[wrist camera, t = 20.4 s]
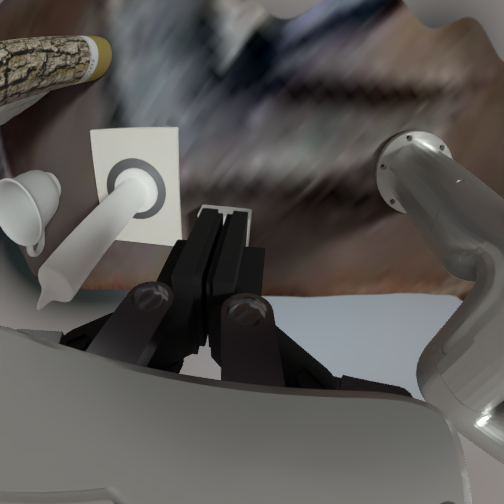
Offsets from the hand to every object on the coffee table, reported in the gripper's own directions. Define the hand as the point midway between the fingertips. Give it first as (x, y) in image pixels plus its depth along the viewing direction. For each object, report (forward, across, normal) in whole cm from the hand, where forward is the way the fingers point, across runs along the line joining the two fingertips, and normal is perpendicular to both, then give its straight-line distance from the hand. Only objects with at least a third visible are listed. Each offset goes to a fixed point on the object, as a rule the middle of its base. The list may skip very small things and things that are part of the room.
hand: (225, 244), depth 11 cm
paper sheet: (+29, +18, +12) cm, 36 cm away
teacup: (+29, +36, +13) cm, 48 cm away
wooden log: (+29, +24, -9) cm, 39 cm away
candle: (+29, +18, +11) cm, 36 cm away
